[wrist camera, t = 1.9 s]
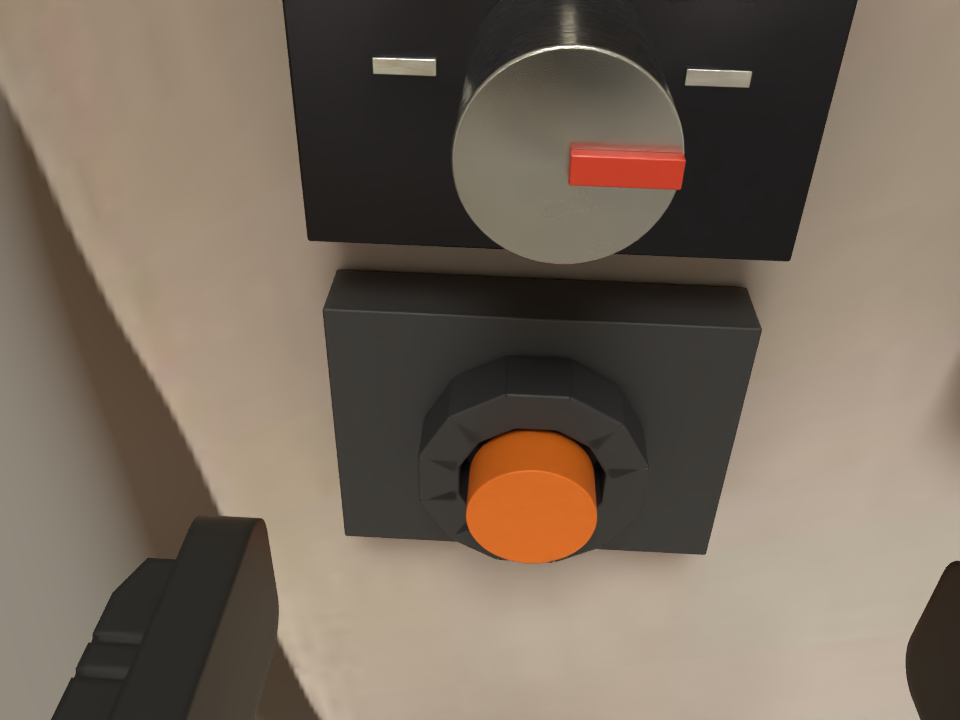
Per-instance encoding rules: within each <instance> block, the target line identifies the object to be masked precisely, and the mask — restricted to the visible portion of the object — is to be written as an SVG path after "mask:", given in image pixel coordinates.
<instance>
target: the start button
mask: <svg viewBox="0 0 960 720" xmlns="http://www.w3.org/2000/svg"><path fill="white" fill-rule="evenodd" d="M466 522H467V526H468V528H469V531H470V533H471V534H472V536H473V537H474V539H475V540H476V541H477V542H478V543H479V544H480V545H481V546H482V547H483V548H485V549H486V550H487V551H489V552H491V553H493V554H494V555H496V556H499V557H501V558H504V559H507V560H511V561H515V562H521V563H545V562H550V561H555V560H558V559H561V558H564V557H567V556H569V555H571V554H573V553H574V552H576V551H577V550H579V549H580V548H581V547H583V546H584V545H585V544H586V543H587V542H588V540H589V539H590V538H591V536H592V535H593V533H594V530H595V528H596V524H597V503H596V491H595V478H594V469H593V465H592V462H591V460H590V458H589V456H588V455H587V453H586V452H585V451H584V450H583V449H582V448H581V447H580V446H579V445H578V444H577V443H576V442H574V441H573V440H571V439H570V438H568V437H566V436H564V435H562V434H559V433H556V432H553V431H549V430H537V429H518V430H513V431H509V432H506V433H503V434H500V435H498V436H496V437H494V438H493V439H491V440H489V441H488V442H487V443H485V444H484V445H483V446H482V447H481V448H480V449H479V450H478V452H477V453H476V455H475V456H474V458H473V460H472V462H471V466H470V472H469V483H468V494H467V505H466Z"/></svg>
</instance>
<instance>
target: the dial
mask: <svg viewBox="0 0 960 720" xmlns="http://www.w3.org/2000/svg"><path fill="white" fill-rule="evenodd" d="M684 156H685V146H684V135H683V129H682V124H681V121H680V118H679V115H678V112H677V109H676V107H675V104H674V101H673V98H672V96H671V93H670V90H669V88H668V85H667V82H666V79H665V77H664V74H663V71H662V68H661V66H660V63H659V60H658V57H657V55H656V52H655V49H654V46H653V44H652V41H651V38H650V36H649V33H648V30H647V27H646V25H645V23H644V21H643V20H642V18H641V16H640V14H639V13H638V12H637V10H636V9H635V7H634V6H633V5H632V4H631V3H630V2H629V1H628V0H499V1H498V2H497V3H496V4H495V5H494V6H493V7H492V8H491V9H490V11H489V12H488V13H487V15H486V16H485V18H484V19H483V21H482V22H481V24H480V26H479V28H478V30H477V32H476V35H475V38H474V41H473V43H472V47H471V52H470V57H469V62H468V67H467V72H466V77H465V82H464V87H463V92H462V97H461V102H460V106H459V111H458V116H457V121H456V126H455V131H454V136H453V141H452V151H451V164H452V174H453V179H454V184H455V187H456V190H457V193H458V196H459V199H460V201H461V203H462V204H463V206H464V208H465V210H466V212H467V213H468V215H469V216H470V218H471V219H472V220H473V222H474V223H475V224H476V225H477V226H478V227H479V228H480V230H481V231H482V232H483V233H484V234H486V235H487V236H488V237H489V238H490V239H491V240H493V241H494V242H495V243H497V244H498V245H500V246H501V247H503V248H505V249H506V250H508V251H510V252H512V253H514V254H517V255H519V256H522V257H525V258H527V259H530V260H535V261H539V262H544V263H552V264H576V263H584V262H589V261H593V260H597V259H601V258H604V257H606V256H609V255H612V254H614V253H616V252H618V251H620V250H622V249H624V248H626V247H628V246H629V245H631V244H632V243H634V242H635V241H637V240H638V239H640V238H641V237H642V236H643V235H644V234H645V233H647V232H648V231H649V230H650V229H651V228H652V227H653V226H654V225H655V224H656V222H657V221H658V220H659V219H660V218H661V216H662V215H663V214H664V212H665V211H666V209H667V208H668V206H669V205H670V203H671V201H672V199H673V197H674V195H675V193H676V190H680V189H681V187H682V181H683V175H684V169H685V163H686V160H685V157H684Z"/></svg>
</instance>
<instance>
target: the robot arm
mask: <svg viewBox="0 0 960 720" xmlns="http://www.w3.org/2000/svg"><path fill="white" fill-rule="evenodd" d="M278 617H279V604H278V595H277V589H276V583H275V577H274V570H273V564H272V558H271V552H270V546H269V539H268V533H267V528H266V524H265V522H264V520H263V519H261V518H246V517H228V516H210V515H209V516H208V515H199V516H197V517H196V518H195V519H194V521H193V522H192V524H191V526H190V528H189V530H188V533H187V535H186V538H185V540H184V542H183V545H182V547H181V549H180V551H179V554H178V556H177V558H176V560H173V559H157V558H156V559H155V558H147V559H146V560H145V561H144V562H143V563H142V564H141V565H140V566H139V567H138V568H137V569H136V570H135V571H134V572H133V573H132V574H131V575H130V576H129V577H128V578H127V579H126V580H125V581H124V582H123V583H122V584H121V585H120V586H119V587H118V588H117V589H116V590H115V591H114V592H113V593H112V595H111V597H110V599H109V601H108V603H107V605H106V607H105V610H104V612H103V614H102V616H101V618H100V620H99V622H98V624H97V626H96V628H95V630H94V632H93V639H92V642H91V643H88V645H87V647H86V649H85V651H84V653H83V655H82V657H81V659H80V661H79V663H78V665H77V667H76V675H75V677H74V678H71V680H70V682H69V684H68V686H67V688H66V690H65V692H64V694H63V696H62V698H61V700H60V702H59V704H58V707H57V709H56V711H55V713H54V715H53V717H52V719H51V720H255V716H256V713H257V709H258V706H259V702H260V698H261V695H262V691H263V688H264V684H265V680H266V677H267V674H268V670H269V666H270V663H271V659H272V656H273V652H274V648H275V643H276V637H277V629H278ZM906 675H907V681H908V686H909V690H910V693H911V696H912V699H913V701H914V704H915V707H916V709H917V712H918V714H919V717H920V719H921V720H960V561H954V562H952V563H950V564H949V565H948V566H947V567H946V569H945V570H944V572H943V574H942V576H941V578H940V580H939V582H938V584H937V586H936V588H935V590H934V592H933V594H932V596H931V598H930V600H929V602H928V604H927V606H926V608H925V610H924V612H923V614H922V616H921V618H920V619H919V621H918V623H917V625H916V627H915V629H914V631H913V633H912V635H911V637H910V640H909V642H908V646H907V652H906Z"/></svg>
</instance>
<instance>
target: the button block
mask: <svg viewBox="0 0 960 720" xmlns="http://www.w3.org/2000/svg"><path fill="white" fill-rule="evenodd" d="M323 318H324V328H325V338H326V348H327V358H328V368H329V378H330V388H331V398H332V408H333V418H334V428H335V438H336V448H337V458H338V468H339V478H340V488H341V498H342V508H343V518H344V528H345V535H346V536H362V537H381V538H400V539H419V540H437V541H456V542H459V543H462V544H464V545H466V546H468V547H470V548H473V549H475V550H477V551H479V552H481V553H484V554H486V555H488V556H490V557H492V558H495V559H499V560H507V559H504V558H501V557H499V556H496V555H494V554H493V553H491V552H489V551H487V550H486V549H485V548H483V547H482V546H481V545H480V544H479V543H478V542H477V541H476V540H475V539H474V537H473V536H472V534H471V533H470V531H469V528H468V526H467V522H466V505H467V494H468V483H469V472H470V466H471V462H472V460H473V458H474V456H475V455H476V453H477V452H478V450H479V449H480V448H481V447H482V446H483V445H484V444H485V443H487V442H488V441H489V440H491V439H493V438H494V437H496V436H498V435H500V434H503V433H506V432H509V431H513V430H518V429H537V430H549V431H553V432H556V433H559V434H562V435H564V436H566V437H568V438H570V439H571V440H573V441H574V442H576V443H577V444H578V445H579V446H580V447H581V448H582V449H583V450H584V451H585V452H586V453H587V455H588V456H589V458H590V460H591V462H592V465H593V469H594V478H595V491H596V503H597V524H596V528H595V530H594V533H593V535H592V536H591V538H590V539H589V540H588V542H587V543H586V544H585V545H584V546H583V547H581V548H580V549H579V550H577V551H576V552H574V553H573V554H571V555H569V556H567V557H564V558H561V559H558V560H555V562H557V561H560V560H563V559H566V558H569V557H572V556H575V555H578V554H582V553H585V552H588V551H591V550H594V549H607V550H626V551H644V552H663V553H682V554H701V555H705V554H706V551H707V547H708V543H709V539H710V535H711V531H712V527H713V523H714V519H715V515H716V511H717V507H718V503H719V499H720V495H721V491H722V487H723V483H724V479H725V475H726V471H727V467H728V463H729V459H730V455H731V451H732V447H733V443H734V439H735V435H736V431H737V427H738V423H739V419H740V415H741V411H742V407H743V403H744V399H745V395H746V391H747V387H748V383H749V379H750V375H751V371H752V367H753V363H754V359H755V355H756V351H757V347H758V343H759V339H760V335H761V331H762V328H761V326H760V323H759V320H758V318H757V315H756V312H755V310H754V307H753V304H752V302H751V299H750V296H749V294H748V291H747V289H746V288H736V287H713V286H690V285H668V284H645V283H622V282H599V281H577V280H554V279H531V278H508V277H486V276H463V275H440V274H417V273H395V272H372V271H349V270H337V272H336V275H335V277H334V280H333V283H332V286H331V288H330V291H329V294H328V297H327V299H326V302H325V305H324V308H323ZM552 562H553V561H550V563H552Z"/></svg>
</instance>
